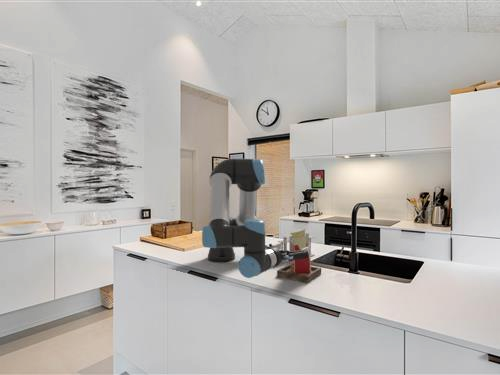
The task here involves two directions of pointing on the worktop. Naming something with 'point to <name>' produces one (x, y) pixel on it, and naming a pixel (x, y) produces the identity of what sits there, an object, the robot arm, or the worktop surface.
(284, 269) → the walnut tray
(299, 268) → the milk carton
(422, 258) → the worktop surface
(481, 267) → the worktop surface
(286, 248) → the test tube rack
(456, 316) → the worktop surface
